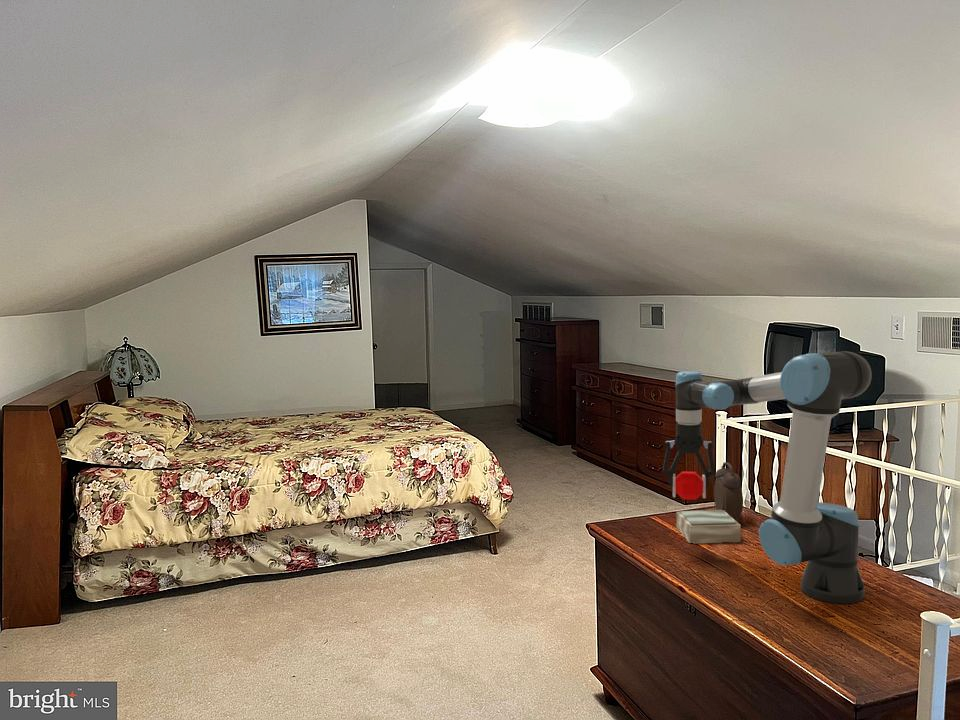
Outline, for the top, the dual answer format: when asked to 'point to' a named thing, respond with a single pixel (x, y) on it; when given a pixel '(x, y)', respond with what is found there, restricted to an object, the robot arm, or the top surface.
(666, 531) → the top surface
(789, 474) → the robot arm
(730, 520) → the stand
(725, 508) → the brown backpack
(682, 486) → the ball
